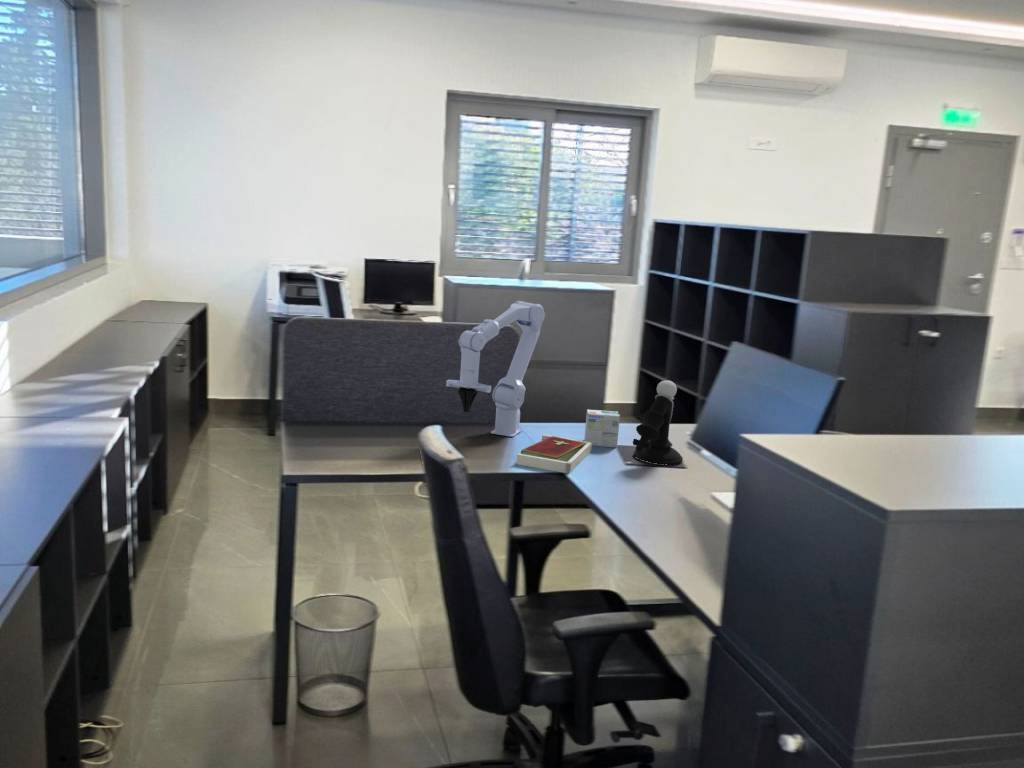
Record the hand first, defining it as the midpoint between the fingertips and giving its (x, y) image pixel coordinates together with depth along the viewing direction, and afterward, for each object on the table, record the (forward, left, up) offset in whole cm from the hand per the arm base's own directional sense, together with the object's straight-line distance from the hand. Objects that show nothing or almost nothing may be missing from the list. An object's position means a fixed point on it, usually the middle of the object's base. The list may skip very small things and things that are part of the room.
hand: (466, 411), depth 271 cm
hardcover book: (+2, +30, -10) cm, 32 cm away
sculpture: (-12, +58, -10) cm, 60 cm away
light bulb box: (-22, +39, -10) cm, 46 cm away
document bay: (+2, +30, -9) cm, 32 cm away
